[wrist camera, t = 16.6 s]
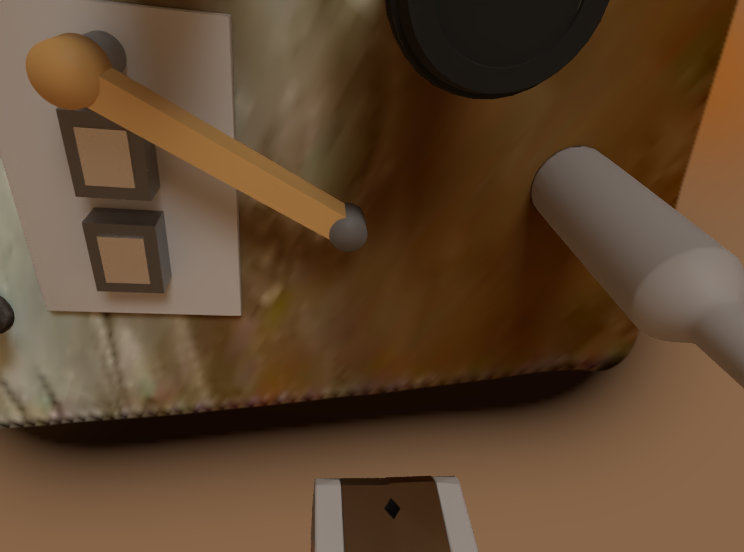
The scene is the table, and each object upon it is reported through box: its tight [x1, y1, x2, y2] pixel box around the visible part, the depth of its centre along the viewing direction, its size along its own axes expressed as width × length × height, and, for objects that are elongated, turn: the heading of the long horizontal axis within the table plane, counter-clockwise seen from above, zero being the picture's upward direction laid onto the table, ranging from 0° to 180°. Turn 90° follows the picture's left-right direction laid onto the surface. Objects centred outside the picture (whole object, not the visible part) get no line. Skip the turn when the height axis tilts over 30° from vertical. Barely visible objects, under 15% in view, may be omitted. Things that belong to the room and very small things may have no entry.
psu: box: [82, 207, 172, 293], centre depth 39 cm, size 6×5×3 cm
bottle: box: [531, 146, 744, 388], centre depth 30 cm, size 7×7×28 cm
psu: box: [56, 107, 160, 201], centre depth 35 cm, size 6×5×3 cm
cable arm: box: [26, 33, 367, 252], centre depth 32 cm, size 22×4×2 cm, turn 55°
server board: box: [0, 0, 242, 316], centre depth 36 cm, size 24×16×4 cm, turn 174°
